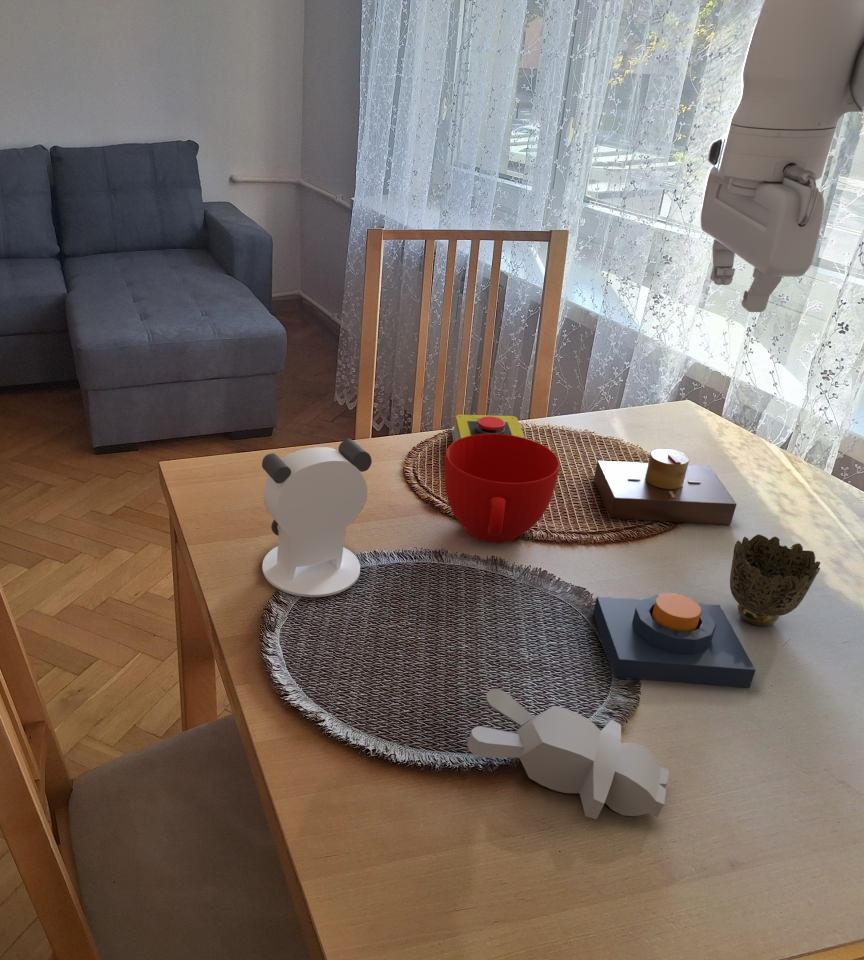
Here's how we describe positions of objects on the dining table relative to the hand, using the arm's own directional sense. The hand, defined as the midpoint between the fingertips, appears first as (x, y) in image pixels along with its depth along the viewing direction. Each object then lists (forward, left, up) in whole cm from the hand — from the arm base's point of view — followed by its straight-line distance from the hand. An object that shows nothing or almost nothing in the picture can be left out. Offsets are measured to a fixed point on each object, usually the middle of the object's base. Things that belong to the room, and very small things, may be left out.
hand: (735, 296), depth 90 cm
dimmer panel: (0, -8, -29) cm, 30 cm away
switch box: (+7, +22, -29) cm, 38 cm away
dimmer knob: (0, -8, -26) cm, 27 cm away
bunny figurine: (+20, +40, -30) cm, 54 cm away
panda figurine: (+43, +12, -30) cm, 53 cm away
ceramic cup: (+22, +3, -30) cm, 37 cm away
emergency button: (+20, -20, -30) cm, 41 cm away
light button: (+7, +22, -26) cm, 35 cm away
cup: (-4, +16, -30) cm, 34 cm away
